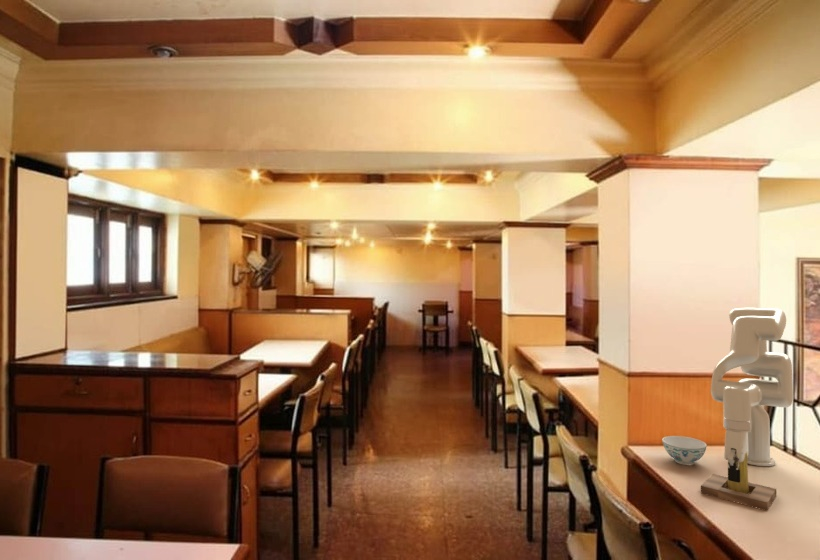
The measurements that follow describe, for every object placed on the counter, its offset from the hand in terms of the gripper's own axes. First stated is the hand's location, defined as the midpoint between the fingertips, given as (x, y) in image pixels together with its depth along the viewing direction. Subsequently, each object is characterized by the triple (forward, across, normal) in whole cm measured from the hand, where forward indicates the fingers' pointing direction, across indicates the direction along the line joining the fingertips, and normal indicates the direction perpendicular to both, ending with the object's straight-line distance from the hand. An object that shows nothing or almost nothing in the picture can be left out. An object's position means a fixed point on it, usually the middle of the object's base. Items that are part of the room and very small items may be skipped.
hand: (737, 477), depth 160 cm
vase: (+6, 0, 0) cm, 6 cm away
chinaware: (+6, -20, -22) cm, 30 cm away
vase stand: (+6, 0, 0) cm, 6 cm away
